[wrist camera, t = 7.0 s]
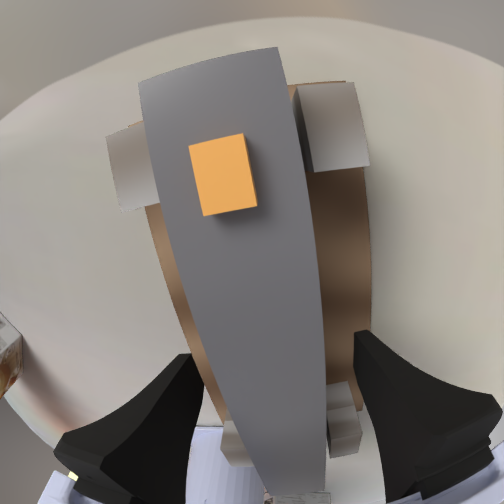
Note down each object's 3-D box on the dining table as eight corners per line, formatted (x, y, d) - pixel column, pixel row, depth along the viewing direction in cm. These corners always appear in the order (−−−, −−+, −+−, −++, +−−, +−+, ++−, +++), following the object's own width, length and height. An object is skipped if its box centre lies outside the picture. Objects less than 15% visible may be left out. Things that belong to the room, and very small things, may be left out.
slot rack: (359, 402, 20) (374, 455, 14) (225, 419, 21) (217, 473, 15) (340, 85, 12) (380, 47, 7) (136, 127, 14) (73, 116, 8)
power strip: (318, 437, 16) (325, 497, 11) (271, 442, 17) (269, 503, 12) (273, 94, 10) (278, 36, 4) (189, 112, 10) (127, 77, 5)
